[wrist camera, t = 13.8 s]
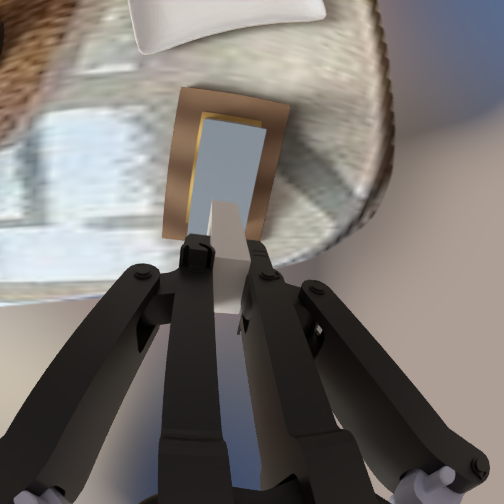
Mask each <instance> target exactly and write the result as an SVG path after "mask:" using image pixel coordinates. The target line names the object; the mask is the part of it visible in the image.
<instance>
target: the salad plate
mask: <svg viewBox="0 0 504 504" xmlns="http://www.w3.org/2000/svg"><path fill="white" fill-rule="evenodd" d="M128 5H129V10H130V15H131V20H132V25H133V30H134V35H135V40H136V43H137V47H138V49H139V51H140V53H141V54H143V55H152V54H155V53H159V52H162V51H164V50H167V49H170V48H173V47H176V46H178V45H181V44H184V43H187V42H190V41H193V40H196V39H200V38H203V37H207V36H210V35H214V34H218V33H222V32H226V31H231V30H235V29H240V28H246V27H252V26H259V25H267V24H276V23H293V22H312V21H319V20H323V19H325V18H326V15H327V13H326V8H325V5H324V2H323V0H128Z"/></svg>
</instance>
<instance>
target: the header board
mask: <svg viewBox="0 0 504 504" xmlns="http://www.w3.org/2000/svg"><path fill="white" fill-rule="evenodd" d="M290 107H291V106H290V105H286V104H281V103H277V102H273V101H268V100H264V99H259V98H254V97H249V96H243V95H237V94H232V93H225V92H219V91H212V90H204V89H196V88H186V87H181V91H180V96H179V101H178V107H177V113H176V118H175V125H174V131H173V137H172V144H171V151H170V159H169V167H168V175H167V184H166V194H165V205H164V217H163V231H162V238H166V239H174V240H182V241H185V237H186V236H187V232H188V223H189V214H190V206H191V198H192V191H193V183H194V176H195V170H196V163H197V157H198V150H199V144H200V138H201V133H202V127H203V121H204V119H205V118H212V119H219V120H226V121H232V122H238V123H244V124H249V125H255V126H259V127H261V128H264V129H267V130H266V135H265V139H264V144H263V148H262V153H261V158H260V162H259V167H258V172H257V176H256V181H255V186H254V190H253V195H252V200H251V205H250V209H249V214H248V219H247V224H246V229H245V233H244V234H245V238H246V239H248V240H256V241H260V237H261V232H262V228H263V224H264V220H265V215H266V211H267V207H268V202H269V198H270V194H271V190H272V185H273V181H274V177H275V172H276V168H277V164H278V159H279V155H280V151H281V146H282V142H283V138H284V133H285V129H286V125H287V120H288V116H289V111H290Z"/></svg>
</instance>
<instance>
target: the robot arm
mask: <svg viewBox="0 0 504 504" xmlns="http://www.w3.org/2000/svg"><path fill="white" fill-rule="evenodd" d="M2 44H3V25H2V23H1V21H0V53H1V49H2ZM240 306H241V309H242V314H241V319H240V322H239V327H238V330H237V335H239V334H240V331H241V333H242V341H243V348H244V355H245V362H246V369H247V376H248V383H249V389H250V395H251V402H252V408H253V414H254V421H255V428H256V434H257V440H258V446H259V452H260V458H261V465H262V466H261V467H262V469H261V475H260V485H261V491H257V490H250V489H243V488H237V487H232V482H231V474H230V465H229V456H228V450H227V445H226V442H225V441H224V440H223V437H222V429H221V417H220V404H219V391H218V376H217V360H216V342H215V320H214V312H218V313H231V314H239V311H240ZM168 323H171V325H170V334H169V342H168V352H167V361H166V371H165V383H164V396H163V411H162V429H161V436H160V439H159V451H158V494H155V495H153V496H151V497H149V498H147V499H145V500H143V501H142V502H140V503H139V504H460V502H461V500H462V498H463V496H464V494H465V493H466V492H467V491H469V490H471V489H473V488H475V487H476V486H478V485H480V484H481V483H483V482H484V481H485V480H486V479H487V477H488V475H489V471H490V465H489V460H488V458H487V456H486V455H485V454H484V453H483V452H482V451H480V450H479V449H477V448H476V447H475V446H473V445H472V444H470V443H469V442H467V441H466V440H465V439H463V438H462V437H460V436H459V435H457V434H456V433H455V432H453V431H452V430H450V429H449V428H448V427H447V425H446V424H445V423H444V422H443V420H442V419H441V418H440V416H439V415H438V414H437V413H436V411H434V409H433V408H432V407H431V405H430V404H429V403H428V402H427V401H426V399H425V398H424V397H423V395H422V394H421V393H420V392H419V391H418V389H417V388H416V387H415V386H414V384H413V383H412V382H411V381H410V380H409V379H408V377H407V376H406V375H405V374H404V373H403V371H402V370H401V369H400V368H399V366H398V365H397V364H396V363H395V362H394V361H393V359H392V358H391V357H390V356H389V355H388V354H387V352H386V351H385V350H384V349H383V348H382V346H381V345H380V344H379V343H378V342H377V341H376V340H375V338H374V337H373V336H372V335H371V334H370V333H369V331H368V330H367V329H366V328H365V327H364V326H363V325H362V324H361V322H360V321H359V320H358V319H357V318H356V317H355V316H354V314H352V312H351V311H350V310H349V309H348V308H347V307H346V305H345V304H344V303H343V302H342V301H341V300H340V299H339V298H338V297H337V295H336V294H335V293H334V292H333V291H332V290H331V289H330V288H329V287H328V286H326V285H325V284H324V283H322V282H320V281H316V280H306V281H304V282H303V283H302V285H301V288H300V287H297V286H293V285H290V284H287V283H285V281H284V278H283V276H282V275H281V274H280V273H279V272H278V271H277V270H275V269H273V267H272V264H271V261H270V258H269V256H268V253H267V250H266V247H265V246H264V245H263V244H262V243H261V242H260V241H256V240H248V239H246V238H245V234H244V230H243V225H242V221H241V217H240V213H239V209H238V205H237V203H231V202H224V201H217V200H212V203H211V210H210V216H209V223H208V230H207V235H200V234H192V233H190V234H189V235H188V236H186V237H185V242H184V244H183V245H182V246H181V250H180V262H179V268H178V269H176V270H175V271H172V272H169V273H162V274H160V272H159V269H157V268H156V267H155V266H153V265H150V264H145V263H142V264H135V265H132V266H130V267H129V268H128V269H127V270H126V271H125V272H124V273H123V274H122V275H121V276H120V278H119V279H118V280H117V281H116V282H115V283H114V284H113V286H112V287H111V288H110V289H109V290H108V291H107V293H106V294H105V295H104V296H103V297H102V298H101V300H100V301H99V302H98V303H97V304H96V306H95V307H94V308H93V309H92V310H91V312H90V313H89V314H88V315H87V317H86V318H85V319H84V320H83V322H82V323H81V324H80V325H79V327H78V328H77V329H76V330H75V332H74V333H73V334H72V336H71V337H70V338H69V339H68V341H67V342H66V343H65V345H64V346H63V347H62V349H61V350H60V351H59V353H58V354H57V355H56V357H55V358H54V360H53V361H52V362H51V364H50V365H49V367H48V368H47V369H46V371H45V372H44V374H43V375H42V377H41V378H40V380H39V381H38V382H37V384H36V385H35V387H34V388H33V390H32V391H31V393H30V394H29V396H28V397H27V399H26V400H25V402H24V404H23V405H22V407H21V409H20V410H19V412H18V413H17V415H16V416H15V418H14V420H13V422H12V423H11V425H10V427H9V428H8V430H7V432H6V433H5V435H4V436H3V437H2V438H0V504H73V502H74V501H75V500H76V499H77V497H78V496H79V494H80V493H81V491H82V490H83V488H84V486H85V484H86V482H87V480H88V477H89V475H90V473H91V470H92V468H93V466H94V464H95V461H96V459H97V457H98V454H99V452H100V450H101V447H102V445H103V443H104V441H105V438H106V436H107V434H108V432H109V429H110V427H111V425H112V423H113V421H114V419H115V416H116V414H117V412H118V410H119V407H120V406H121V404H122V401H123V399H124V397H125V395H126V393H127V391H128V389H129V387H130V385H131V383H132V381H133V379H134V377H135V375H136V373H137V371H138V369H139V367H140V365H141V363H142V361H143V359H144V357H145V355H146V353H147V351H148V349H149V347H150V345H151V343H152V341H153V339H154V337H155V336H156V334H157V332H158V330H159V327H160V325H162V324H168ZM318 325H319V326H320V327H321V328H322V332H321V334H320V333H319V332H318V331H317V327H318ZM332 411H333V412H332ZM333 413H334V414H335V416H336V418H337V419H338V421H339V422H340V424H341V425H342V427H343V429H340V428H339V427H338V426H337V424H336V421H335V418H334V415H333ZM363 459H364V461H365V462H366V464H367V465H368V467H369V468H370V470H371V471H372V472H373V474H374V475H375V476H376V478H377V479H378V480H379V481H380V482H381V483H382V484H383V485H384V486H385V487H386V488H387V489H388V490H390V491H391V492H392V493H393V495H392V496H391V497H390V499H389V502H388V501H387V500H385V499H383V498H382V497H380V496H379V495H377V494H375V492H374V490H373V487H372V484H371V481H370V478H369V475H368V472H367V469H366V467H365V464H364V461H363Z"/></svg>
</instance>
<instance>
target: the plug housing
mask: <svg viewBox="0 0 504 504" xmlns="http://www.w3.org/2000/svg"><path fill="white" fill-rule="evenodd" d="M266 130H267V129H264V128H261V127H259V126H255V125H249V124H244V123H238V122H232V121H226V120H219V119H212V118H205V119H204V121H203V127H202V133H201V138H200V144H199V150H198V157H197V163H196V170H195V176H194V183H193V191H192V198H191V206H190V214H189V223H188V232H187V236H188V235H189V234H190V233H192V234H200V235H207V230H208V223H209V216H210V210H211V203H212V200H217V201H224V202H231V203H237V205H238V209H239V213H240V217H241V221H242V225H243V230H244V233H245V229H246V224H247V219H248V214H249V209H250V205H251V200H252V195H253V190H254V186H255V181H256V176H257V172H258V167H259V162H260V158H261V153H262V148H263V144H264V139H265V135H266Z"/></svg>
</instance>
